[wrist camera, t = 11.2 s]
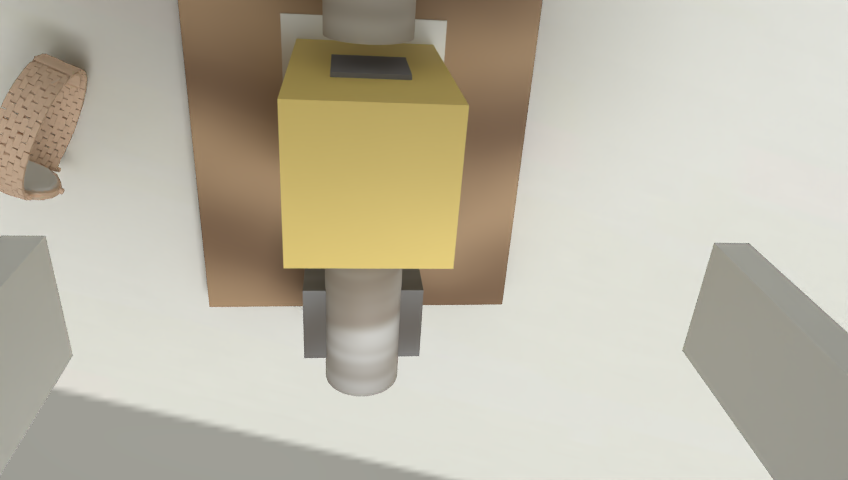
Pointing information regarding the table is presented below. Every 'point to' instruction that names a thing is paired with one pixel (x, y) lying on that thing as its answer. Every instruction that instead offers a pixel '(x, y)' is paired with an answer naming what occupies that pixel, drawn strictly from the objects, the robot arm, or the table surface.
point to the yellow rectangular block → (370, 156)
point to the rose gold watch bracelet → (39, 126)
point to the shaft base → (260, 165)
